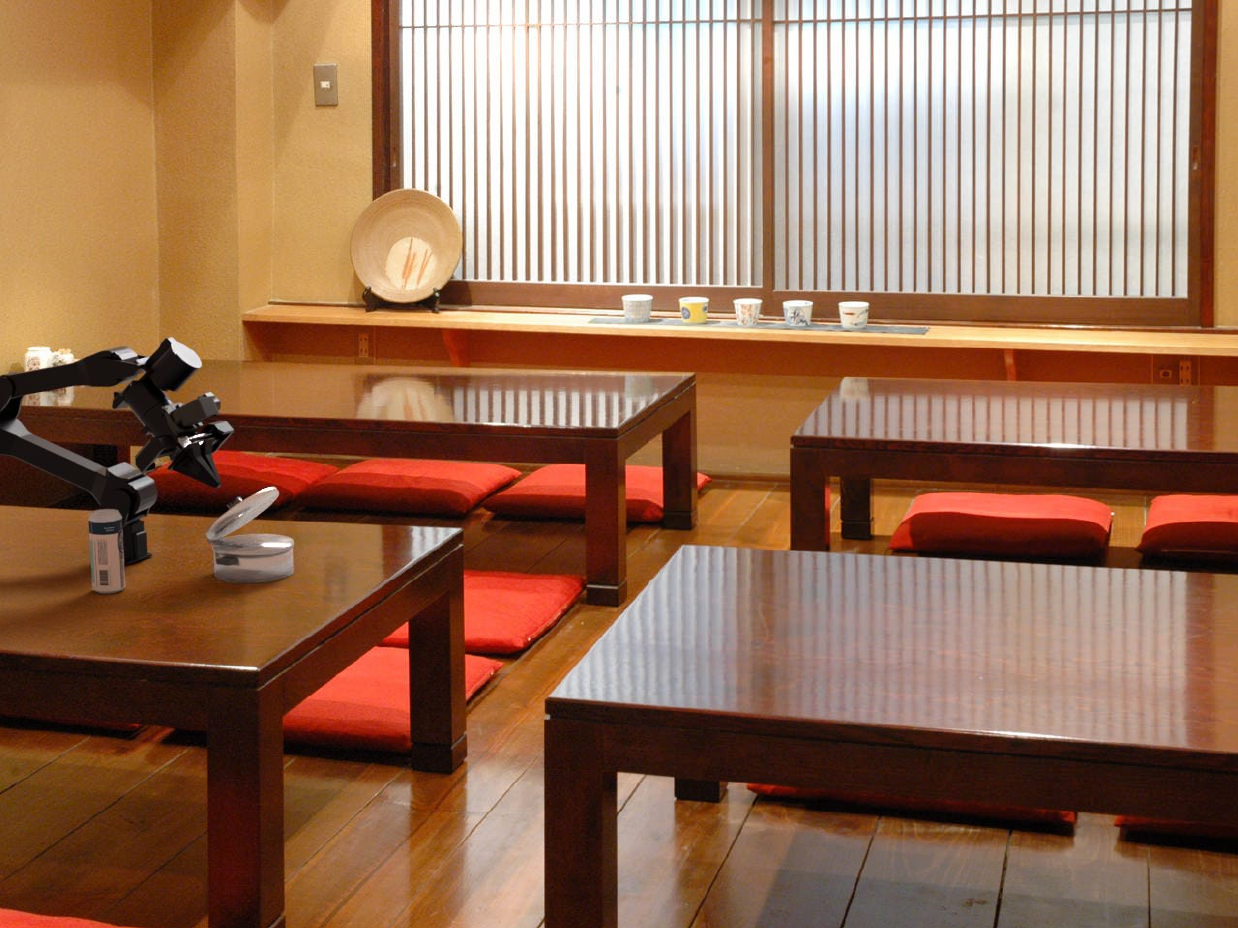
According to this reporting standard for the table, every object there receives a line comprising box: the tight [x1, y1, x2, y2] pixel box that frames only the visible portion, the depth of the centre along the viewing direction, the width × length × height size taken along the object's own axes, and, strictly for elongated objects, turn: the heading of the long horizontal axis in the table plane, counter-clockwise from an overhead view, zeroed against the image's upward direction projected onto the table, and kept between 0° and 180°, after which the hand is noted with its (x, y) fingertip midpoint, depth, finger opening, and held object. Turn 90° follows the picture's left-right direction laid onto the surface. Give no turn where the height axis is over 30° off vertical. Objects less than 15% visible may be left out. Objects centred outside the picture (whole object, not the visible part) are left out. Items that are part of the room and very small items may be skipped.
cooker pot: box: [211, 533, 295, 584], centre depth 247 cm, size 12×16×5 cm
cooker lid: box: [205, 486, 280, 545], centre depth 246 cm, size 14×13×3 cm
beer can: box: [87, 509, 126, 595], centre depth 236 cm, size 5×5×12 cm
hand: (218, 486), depth 247 cm, fingers closed
